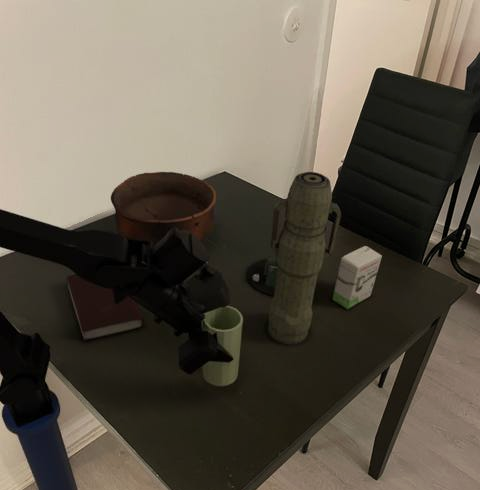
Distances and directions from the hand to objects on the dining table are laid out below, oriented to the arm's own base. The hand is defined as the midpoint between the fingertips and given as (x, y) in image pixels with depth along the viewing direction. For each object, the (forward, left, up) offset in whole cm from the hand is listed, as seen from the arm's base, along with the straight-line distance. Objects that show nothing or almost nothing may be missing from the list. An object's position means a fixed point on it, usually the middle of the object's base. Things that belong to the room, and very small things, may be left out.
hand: (229, 346), depth 86 cm
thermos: (+21, +8, -13) cm, 25 cm away
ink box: (+41, +9, -13) cm, 44 cm away
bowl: (+14, +49, -13) cm, 52 cm away
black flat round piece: (+31, +24, -13) cm, 41 cm away
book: (-9, +35, -13) cm, 38 cm away
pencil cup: (-1, +1, -7) cm, 7 cm away
